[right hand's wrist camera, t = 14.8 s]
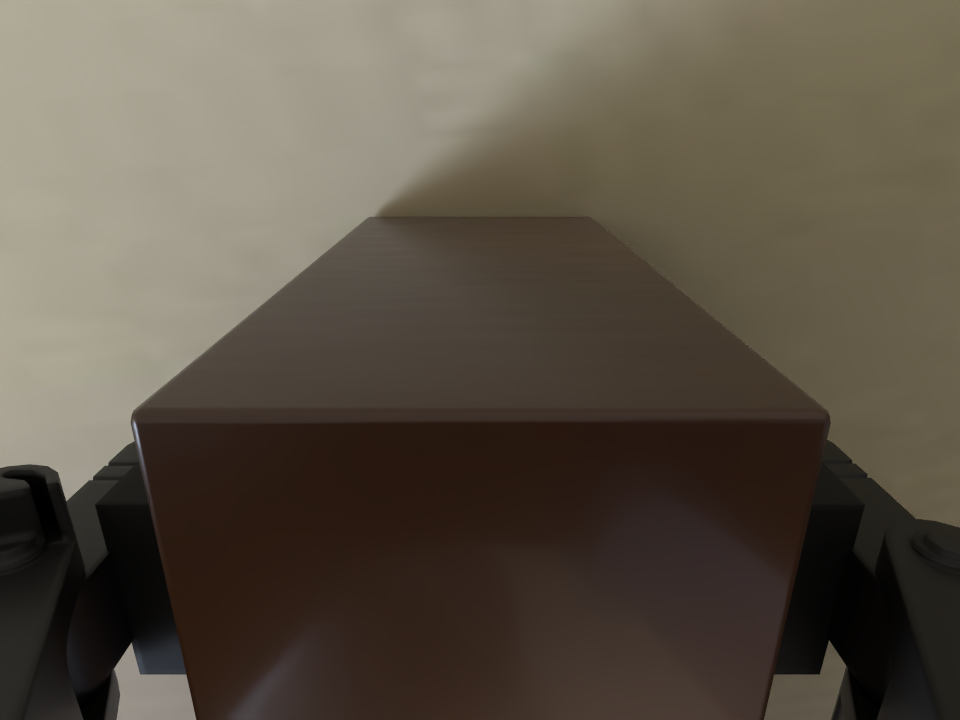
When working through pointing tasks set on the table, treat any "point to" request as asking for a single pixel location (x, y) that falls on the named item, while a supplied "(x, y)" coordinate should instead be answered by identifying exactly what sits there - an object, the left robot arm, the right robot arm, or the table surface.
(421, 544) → the walnut box
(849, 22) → the table surface
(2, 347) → the table surface
